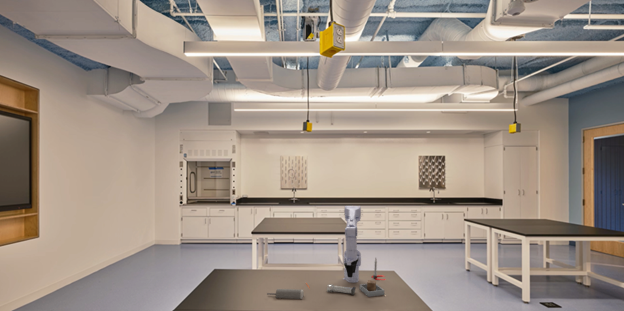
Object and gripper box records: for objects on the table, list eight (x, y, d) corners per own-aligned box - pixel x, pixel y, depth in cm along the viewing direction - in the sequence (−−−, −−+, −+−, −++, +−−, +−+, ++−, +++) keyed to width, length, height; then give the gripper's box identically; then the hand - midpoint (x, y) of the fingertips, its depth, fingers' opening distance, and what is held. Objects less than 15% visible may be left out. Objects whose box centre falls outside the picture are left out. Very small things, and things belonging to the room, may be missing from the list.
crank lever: (325, 292, 180) (325, 286, 180) (328, 289, 184) (328, 283, 184) (353, 295, 175) (353, 289, 175) (355, 292, 179) (355, 286, 179)
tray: (359, 289, 184) (359, 284, 184) (374, 287, 186) (374, 282, 187) (368, 297, 173) (368, 292, 174) (384, 295, 176) (384, 290, 176)
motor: (309, 301, 170) (309, 291, 171) (265, 300, 172) (266, 289, 173) (313, 291, 193) (313, 282, 194) (274, 290, 195) (275, 281, 196)
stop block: (367, 292, 179) (367, 282, 179) (368, 289, 182) (368, 280, 182) (374, 293, 177) (374, 283, 177) (376, 290, 181) (375, 280, 181)
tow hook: (384, 276, 208) (370, 277, 205) (384, 255, 208) (371, 256, 205) (391, 281, 200) (377, 282, 197) (392, 259, 200) (378, 259, 197)
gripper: (346, 245, 191) (347, 270, 191) (340, 252, 178) (341, 278, 177) (359, 246, 189) (359, 271, 189) (354, 253, 175) (354, 279, 175)
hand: (351, 274), depth 183 cm, fingers open, 7 cm apart
